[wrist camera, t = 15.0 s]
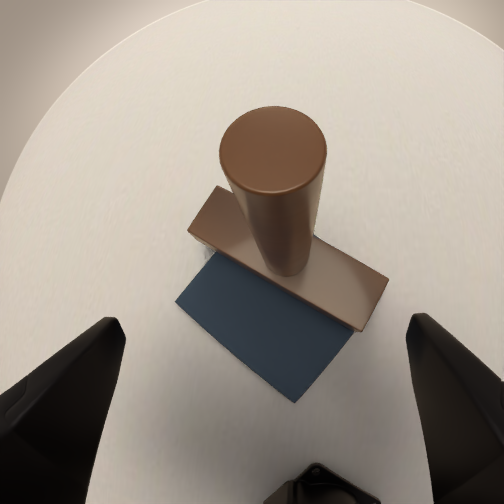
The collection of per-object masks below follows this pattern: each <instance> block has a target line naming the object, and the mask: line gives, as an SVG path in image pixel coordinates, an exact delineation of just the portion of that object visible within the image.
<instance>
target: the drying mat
mask: <svg viewBox="0 0 504 504" xmlns="http://www.w3.org/2000/svg"><path fill="white" fill-rule="evenodd" d="M313 236H315V235H314V234H313ZM315 237H317V236H315ZM317 238H318V237H317ZM318 239H319V238H318ZM320 240H321V239H320ZM384 290H385V289H384ZM175 302H176V303H177V304H178V305H179V306H180V307H181V308H182V309H183V310H184V311H185V312H186V313H187V314H188V315H190V316H191V317H192V318H193V319H194V320H195V321H196V322H197V323H198V324H199V325H201V326H202V327H203V328H204V329H205V330H206V331H207V332H208V333H209V334H211V335H212V336H213V337H214V338H215V339H216V340H217V341H219V342H220V343H221V344H222V345H223V346H224V347H226V348H227V349H228V350H229V351H230V352H231V353H233V354H234V355H235V356H236V357H237V358H238V359H240V360H241V361H242V362H243V363H244V364H246V365H247V366H248V367H249V368H250V369H252V370H253V371H254V372H255V373H257V374H258V375H259V376H260V377H261V378H263V379H264V380H265V381H266V382H268V383H269V384H270V385H271V386H273V387H274V388H275V389H277V390H278V391H279V392H280V393H282V394H283V395H284V396H285V397H287V398H288V399H289V400H291V401H292V402H293V403H295V402H296V401H297V400H298V399H299V398H300V397H301V396H302V395H303V394H304V392H305V391H306V390H307V389H308V388H309V387H310V386H311V384H312V383H313V382H314V381H315V380H316V379H317V377H318V376H319V375H320V374H321V373H322V371H323V370H324V369H325V368H326V367H327V365H328V364H329V363H330V362H331V361H332V359H333V358H334V357H335V356H336V354H337V353H338V352H339V351H340V349H341V348H342V347H343V346H344V344H345V343H346V342H347V341H348V339H349V338H350V337H351V335H352V334H353V333H354V331H352V330H350V329H348V328H347V327H345V326H343V325H341V324H340V323H338V322H336V321H334V320H333V319H331V318H329V317H327V316H326V315H324V314H322V313H320V312H319V311H317V310H315V309H313V308H312V307H310V306H308V305H306V304H305V303H303V302H301V301H299V300H298V299H296V298H294V297H293V296H291V295H289V294H287V293H286V292H284V291H282V290H280V289H279V288H277V287H275V286H274V285H272V284H270V283H268V282H267V281H265V280H263V279H262V278H260V277H258V276H257V275H255V274H253V273H251V272H250V271H248V270H246V269H245V268H243V267H241V266H240V265H238V264H236V263H234V262H233V261H231V260H229V259H228V258H226V257H224V256H223V255H221V254H219V253H218V252H215V254H214V255H213V256H212V257H211V258H210V260H209V261H208V262H207V263H206V264H205V266H204V267H203V268H202V269H201V270H200V272H199V273H198V274H197V275H196V276H195V278H194V279H193V280H192V281H191V283H190V284H189V285H188V286H187V287H186V289H185V290H184V291H183V292H182V293H181V295H180V296H179V297H178V298H177V300H176V301H175Z"/></svg>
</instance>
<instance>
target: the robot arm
mask: <svg viewBox="0 0 504 504" xmlns="http://www.w3.org/2000/svg"><path fill="white" fill-rule="evenodd" d="M125 343H126V337H125V334H124V332H123V330H122V327H121V325H120V323H119V321H118V319H116V318H115V317H104V318H103V319H101V320H100V321H98V322H97V323H96V324H94V325H93V326H92V327H90V328H89V329H88V330H86V331H85V332H84V333H82V334H81V335H79V336H78V337H77V338H75V339H74V340H73V341H71V342H70V343H69V344H67V345H66V346H65V347H63V348H62V349H61V350H59V351H58V352H57V353H55V354H54V355H53V356H52V357H50V358H49V359H48V360H46V361H45V362H44V363H42V364H41V365H40V366H38V367H37V368H36V369H35V370H33V371H32V372H31V373H29V374H28V375H27V376H25V377H24V378H23V379H22V380H20V381H19V382H18V383H16V384H15V385H14V386H12V387H11V388H10V389H8V390H7V391H5V392H4V393H2V394H1V395H0V504H85V502H86V497H87V492H88V487H89V483H90V478H91V474H92V470H93V466H94V462H95V458H96V454H97V450H98V446H99V442H100V439H101V435H102V431H103V428H104V424H105V421H106V417H107V414H108V410H109V407H110V404H111V400H112V397H113V394H114V391H115V387H116V384H117V380H118V376H119V371H120V366H121V361H122V357H123V352H124V348H125ZM406 344H407V350H408V356H409V363H410V370H411V378H412V384H413V389H414V393H415V398H416V402H417V406H418V411H419V415H420V420H421V425H422V430H423V435H424V440H425V446H426V452H427V458H428V464H429V470H430V477H431V485H432V492H433V501H434V504H504V381H502V382H501V379H500V378H499V377H498V376H497V375H496V374H495V373H494V372H493V371H492V370H491V369H489V368H488V367H487V366H486V365H485V364H484V363H483V362H482V361H481V360H480V359H479V358H477V357H476V356H475V355H474V354H473V353H472V352H471V351H470V350H468V349H467V348H466V347H465V346H464V345H463V344H462V343H461V342H459V341H458V340H457V339H456V338H455V337H454V336H453V335H451V334H450V333H449V332H448V331H447V330H446V329H444V328H443V327H442V326H441V325H440V324H439V323H437V322H436V321H435V320H434V319H433V318H431V317H430V316H429V315H428V314H426V313H416V314H413V315H412V317H411V320H410V323H409V327H408V330H407V333H406ZM315 468H318V469H320V470H319V471H318V472H313V469H315ZM373 503H376V504H381V502H380V500H379V499H378V498H376V497H375V496H373V495H371V494H369V493H367V492H366V491H364V490H362V489H361V488H359V487H357V486H355V485H354V484H352V483H350V482H349V481H347V480H346V479H344V478H342V477H341V476H339V475H338V474H336V473H334V472H333V471H331V470H330V469H328V468H327V467H325V466H324V465H322V464H320V463H313V464H311V465H310V466H309V467H308V468H307V469H306V470H305V471H304V472H302V473H301V474H300V475H299V476H298V477H297V478H296V479H295V480H294V481H293V480H290V481H287V482H286V483H285V484H284V485H283V486H282V487H280V488H279V489H278V490H277V491H276V492H274V493H273V494H272V495H271V496H270V497H268V498H267V499H266V500H265V501H264V503H263V504H373Z"/></svg>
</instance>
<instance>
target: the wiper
mask: <svg viewBox="0 0 504 504" xmlns="http://www.w3.org/2000/svg"><path fill="white" fill-rule="evenodd" d="M326 157H327V145H326V141H325V138H324V135H323V133H322V131H321V130H320V128H319V127H318V126H317V124H316V123H315V122H314V121H313V120H312V119H310V118H309V117H308V116H306V115H305V114H303V113H301V112H299V111H297V110H294V109H291V108H287V107H280V106H270V107H262V108H258V109H255V110H252V111H249V112H247V113H245V114H244V115H242V116H240V117H239V118H238V119H236V120H235V121H234V122H233V123H232V124H231V125H230V126H229V127H228V129H227V130H226V132H225V133H224V136H223V138H222V140H221V143H220V148H219V159H220V164H221V167H222V170H223V172H224V174H225V176H226V178H227V181H228V183H229V185H230V187H231V189H232V191H233V193H232V192H230V191H228V190H226V189H224V188H222V187H220V186H216V187H215V189H214V190H213V192H212V193H211V195H210V196H209V198H208V199H207V201H206V202H205V204H204V205H203V207H202V208H201V210H200V211H199V213H198V214H197V216H196V217H195V219H194V220H193V222H192V223H191V225H190V227H189V228H188V230H187V231H188V232H189V233H190V234H191V235H192V236H193V237H194V238H195V239H196V240H198V241H199V242H201V243H203V244H204V245H206V246H208V247H209V248H211V249H213V250H214V251H216V252H218V253H219V254H221V255H223V256H224V257H226V258H228V259H229V260H231V261H233V262H234V263H236V264H238V265H240V266H241V267H243V268H245V269H246V270H248V271H250V272H251V273H253V274H255V275H257V276H258V277H260V278H262V279H263V280H265V281H267V282H268V283H270V284H272V285H274V286H275V287H277V288H279V289H280V290H282V291H284V292H286V293H287V294H289V295H291V296H293V297H294V298H296V299H298V300H299V301H301V302H303V303H305V304H306V305H308V306H310V307H312V308H313V309H315V310H317V311H319V312H320V313H322V314H324V315H326V316H327V317H329V318H331V319H333V320H334V321H336V322H338V323H340V324H341V325H343V326H345V327H347V328H348V329H350V330H352V331H354V332H362V331H363V329H364V327H365V326H366V324H367V322H368V320H369V318H370V316H371V315H372V313H373V311H374V309H375V307H376V305H377V303H378V301H379V299H380V297H381V295H382V293H383V291H384V289H385V287H386V285H387V283H388V281H389V279H388V278H387V277H385V276H384V275H382V274H380V273H378V272H377V271H375V270H373V269H372V268H370V267H368V266H366V265H365V264H363V263H361V262H359V261H358V260H356V259H354V258H352V257H351V256H349V255H347V254H345V253H344V252H342V251H340V250H338V249H336V248H335V247H333V246H331V245H329V244H327V243H326V242H324V241H322V240H320V239H318V238H317V237H315V236H313V233H314V227H315V222H316V216H317V211H318V205H319V199H320V194H321V188H322V182H323V176H324V169H325V163H326Z"/></svg>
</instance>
